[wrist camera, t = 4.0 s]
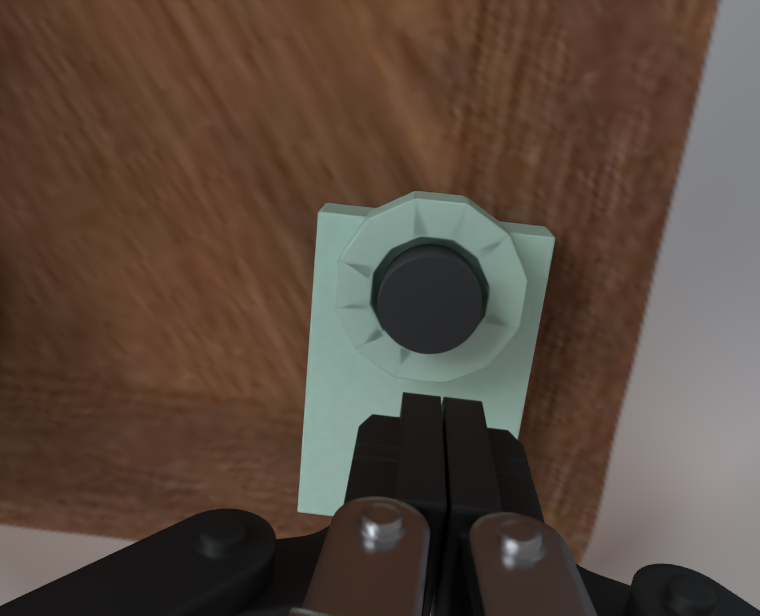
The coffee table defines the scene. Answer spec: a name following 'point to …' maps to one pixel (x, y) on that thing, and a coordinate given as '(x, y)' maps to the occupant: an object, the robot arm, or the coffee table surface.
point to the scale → (387, 358)
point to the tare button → (429, 299)
